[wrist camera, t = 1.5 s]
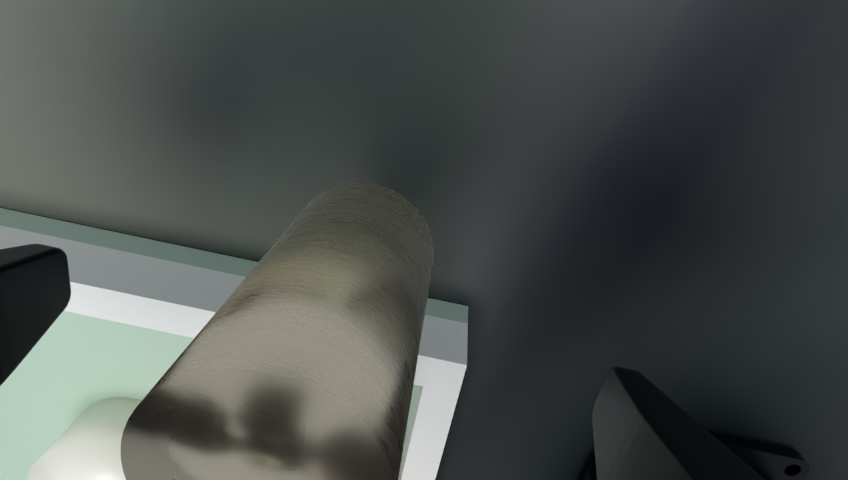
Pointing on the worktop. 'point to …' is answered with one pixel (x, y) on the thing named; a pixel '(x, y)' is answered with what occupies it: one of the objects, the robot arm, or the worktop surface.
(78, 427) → the puck
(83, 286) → the pitch
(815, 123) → the worktop surface
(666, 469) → the robot arm
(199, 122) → the worktop surface
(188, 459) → the cylinder
